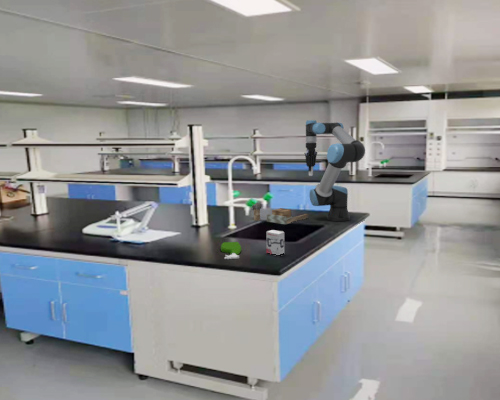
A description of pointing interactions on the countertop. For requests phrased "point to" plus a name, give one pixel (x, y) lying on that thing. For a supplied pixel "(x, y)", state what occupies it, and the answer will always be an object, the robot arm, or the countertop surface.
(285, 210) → the crate
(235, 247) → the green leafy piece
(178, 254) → the countertop surface
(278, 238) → the ink box
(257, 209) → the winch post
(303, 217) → the bay
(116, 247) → the countertop surface
